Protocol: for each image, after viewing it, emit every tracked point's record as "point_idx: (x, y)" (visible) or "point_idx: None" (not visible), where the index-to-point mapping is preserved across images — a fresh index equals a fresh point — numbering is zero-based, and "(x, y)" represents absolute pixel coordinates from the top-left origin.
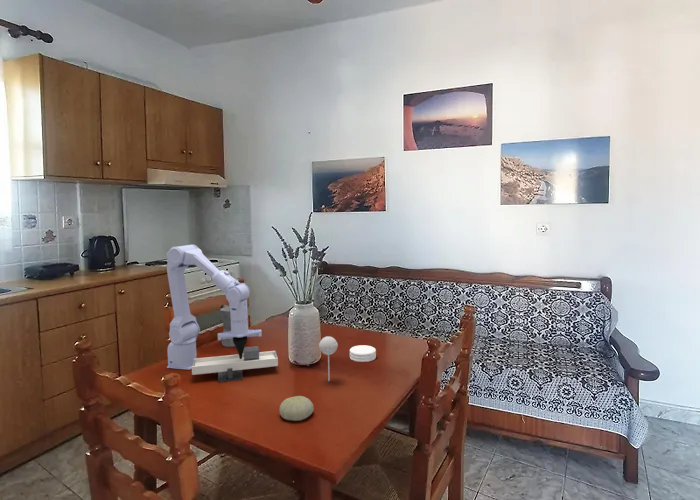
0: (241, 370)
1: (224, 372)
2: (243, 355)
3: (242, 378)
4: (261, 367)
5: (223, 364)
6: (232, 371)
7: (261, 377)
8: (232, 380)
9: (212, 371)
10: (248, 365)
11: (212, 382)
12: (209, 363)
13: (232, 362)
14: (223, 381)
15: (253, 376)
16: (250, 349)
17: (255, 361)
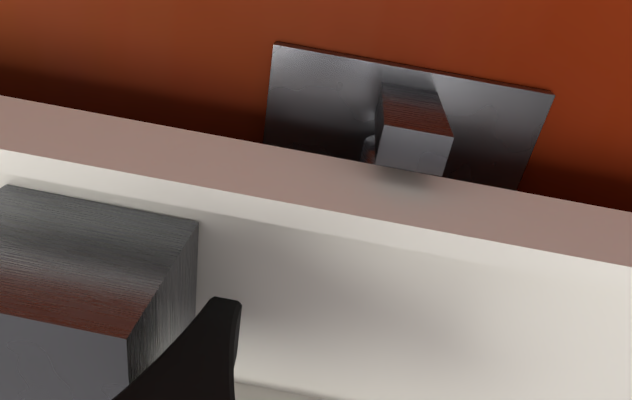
0: None
1: None
2: None
3: (275, 47)
4: (9, 97)
5: (498, 234)
6: None
7: (67, 7)
8: (389, 63)
9: (622, 218)
10: (152, 143)
11: (597, 125)
12: (595, 393)
13: (361, 229)
14: (489, 80)
15: (154, 79)
16: (22, 381)
17: (26, 144)
